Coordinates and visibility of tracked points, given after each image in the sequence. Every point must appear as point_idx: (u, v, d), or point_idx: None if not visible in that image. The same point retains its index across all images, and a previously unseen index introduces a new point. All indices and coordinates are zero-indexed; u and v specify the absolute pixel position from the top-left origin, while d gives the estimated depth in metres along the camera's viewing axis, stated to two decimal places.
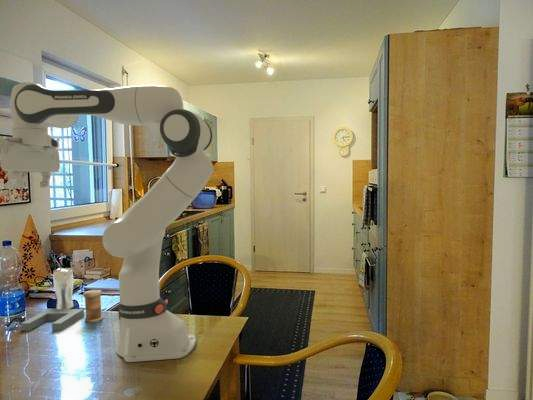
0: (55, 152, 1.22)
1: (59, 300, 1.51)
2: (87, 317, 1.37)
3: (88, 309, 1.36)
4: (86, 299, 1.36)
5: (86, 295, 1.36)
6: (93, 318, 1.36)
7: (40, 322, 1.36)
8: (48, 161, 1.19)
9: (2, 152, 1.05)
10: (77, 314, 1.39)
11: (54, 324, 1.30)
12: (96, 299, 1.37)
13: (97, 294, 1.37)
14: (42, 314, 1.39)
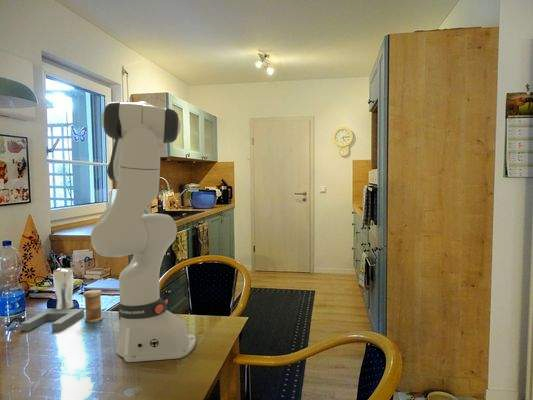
0: None
1: (59, 300, 1.51)
2: (87, 317, 1.37)
3: (88, 309, 1.36)
4: (86, 299, 1.36)
5: (86, 295, 1.36)
6: (93, 318, 1.36)
7: (40, 322, 1.36)
8: None
9: None
10: (77, 314, 1.39)
11: (54, 324, 1.30)
12: (96, 299, 1.37)
13: (97, 294, 1.37)
14: (42, 314, 1.39)
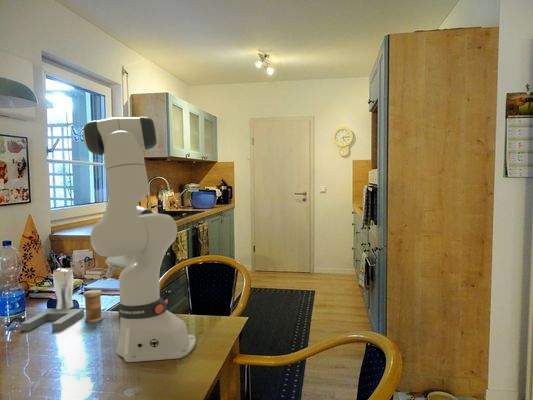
0: None
1: (59, 300, 1.51)
2: (87, 317, 1.37)
3: (88, 309, 1.36)
4: (86, 299, 1.36)
5: (86, 295, 1.36)
6: (93, 318, 1.36)
7: (40, 322, 1.36)
8: (131, 259, 1.46)
9: None
10: (77, 314, 1.39)
11: (54, 324, 1.30)
12: (96, 299, 1.37)
13: (97, 294, 1.37)
14: (42, 314, 1.39)
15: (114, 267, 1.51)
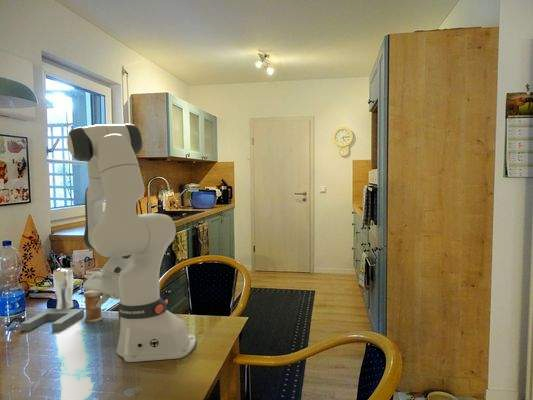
0: (117, 278, 1.38)
1: (59, 300, 1.51)
2: (87, 317, 1.37)
3: (88, 308, 1.36)
4: (86, 299, 1.36)
5: (86, 295, 1.36)
6: (93, 318, 1.36)
7: (40, 322, 1.36)
8: (109, 285, 1.38)
9: None
10: (77, 314, 1.39)
11: (54, 324, 1.30)
12: (96, 299, 1.37)
13: (97, 294, 1.37)
14: (42, 314, 1.39)
15: None
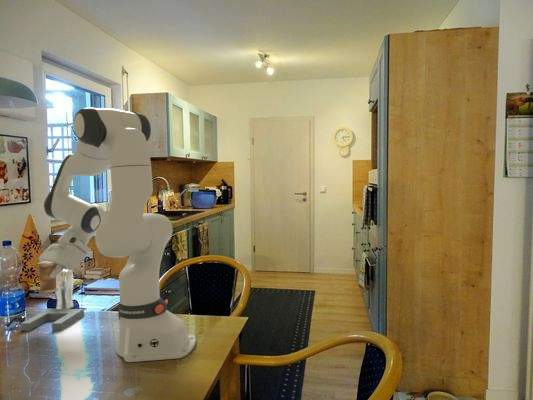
0: (72, 248, 1.34)
1: (59, 300, 1.51)
2: (40, 288, 1.32)
3: (41, 279, 1.32)
4: (39, 269, 1.32)
5: (39, 265, 1.31)
6: (47, 289, 1.32)
7: (40, 322, 1.36)
8: (64, 255, 1.34)
9: None
10: (77, 314, 1.39)
11: (54, 324, 1.30)
12: (49, 269, 1.32)
13: (51, 264, 1.32)
14: (42, 314, 1.39)
15: None
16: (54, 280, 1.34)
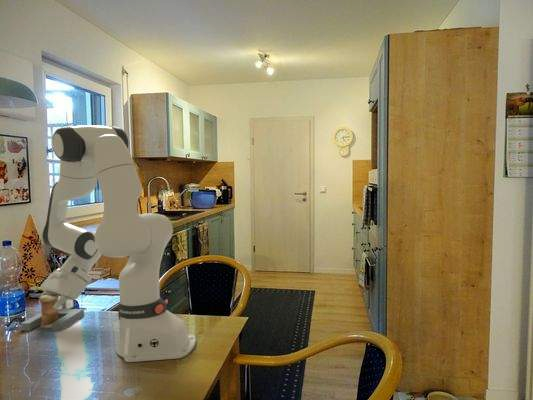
0: (74, 278, 1.34)
1: None
2: (43, 322, 1.33)
3: (43, 314, 1.32)
4: (42, 304, 1.33)
5: (41, 300, 1.32)
6: (49, 323, 1.33)
7: (40, 322, 1.36)
8: (65, 285, 1.35)
9: None
10: (77, 314, 1.39)
11: (54, 324, 1.30)
12: (52, 304, 1.33)
13: (53, 299, 1.33)
14: None
15: (49, 293, 1.40)
16: (56, 314, 1.35)
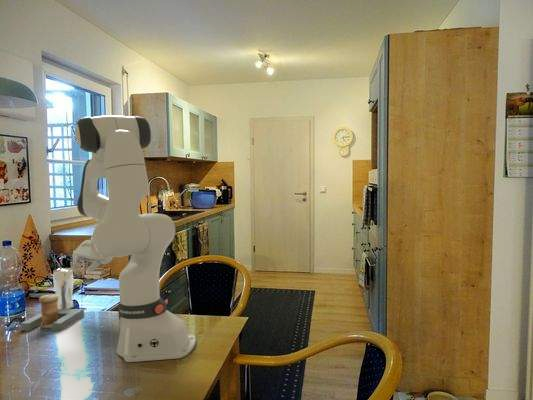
0: None
1: (59, 300, 1.51)
2: (43, 322, 1.33)
3: (43, 314, 1.32)
4: (42, 304, 1.33)
5: (41, 300, 1.32)
6: (49, 323, 1.33)
7: (40, 322, 1.36)
8: None
9: None
10: (77, 314, 1.39)
11: (54, 324, 1.30)
12: (52, 304, 1.33)
13: (53, 299, 1.33)
14: None
15: (81, 259, 1.50)
16: (56, 314, 1.35)
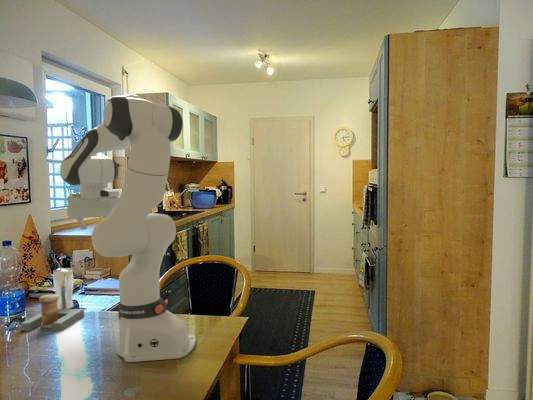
0: (110, 200, 1.44)
1: (59, 300, 1.51)
2: (43, 322, 1.33)
3: (43, 314, 1.32)
4: (42, 304, 1.33)
5: (41, 300, 1.32)
6: (49, 323, 1.33)
7: (40, 322, 1.36)
8: (104, 208, 1.45)
9: None
10: (77, 314, 1.39)
11: (54, 324, 1.30)
12: (52, 304, 1.33)
13: (53, 299, 1.33)
14: None
15: (82, 217, 1.48)
16: (56, 314, 1.35)
